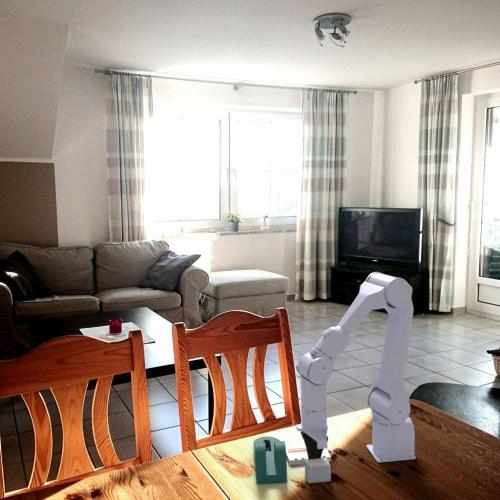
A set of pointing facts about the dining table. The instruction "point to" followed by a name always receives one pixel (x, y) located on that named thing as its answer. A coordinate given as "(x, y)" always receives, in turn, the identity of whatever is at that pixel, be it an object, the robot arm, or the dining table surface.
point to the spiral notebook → (302, 455)
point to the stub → (317, 470)
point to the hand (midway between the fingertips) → (314, 463)
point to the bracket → (270, 460)
